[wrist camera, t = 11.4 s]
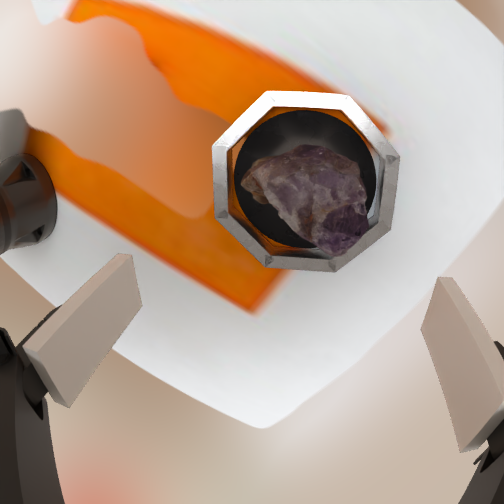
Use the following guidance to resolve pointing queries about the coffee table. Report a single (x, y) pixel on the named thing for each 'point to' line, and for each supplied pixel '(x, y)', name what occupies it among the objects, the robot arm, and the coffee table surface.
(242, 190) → the collar
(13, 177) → the robot arm
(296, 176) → the rock
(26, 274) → the coffee table surface
